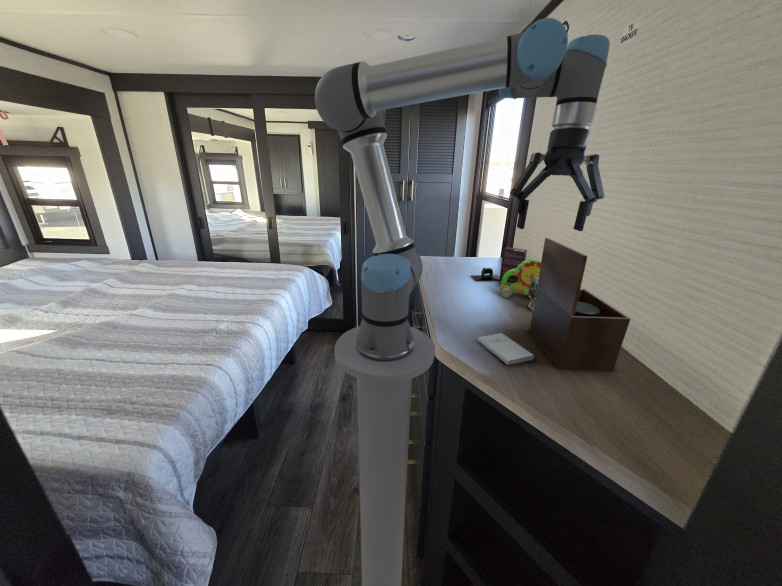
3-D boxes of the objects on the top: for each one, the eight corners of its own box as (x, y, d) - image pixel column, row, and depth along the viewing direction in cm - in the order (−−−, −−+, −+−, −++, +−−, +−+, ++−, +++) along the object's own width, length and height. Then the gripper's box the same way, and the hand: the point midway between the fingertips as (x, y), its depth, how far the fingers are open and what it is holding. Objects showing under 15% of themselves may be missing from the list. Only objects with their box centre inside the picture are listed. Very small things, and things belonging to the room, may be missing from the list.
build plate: (496, 276, 145) (498, 266, 143) (503, 281, 138) (504, 271, 136) (470, 276, 144) (471, 266, 142) (475, 281, 137) (477, 271, 135)
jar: (588, 359, 80) (600, 317, 75) (553, 349, 84) (563, 309, 79) (588, 344, 87) (600, 304, 82) (556, 336, 91) (565, 298, 86)
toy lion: (500, 298, 119) (507, 259, 114) (498, 292, 124) (504, 255, 119) (544, 301, 117) (553, 262, 111) (540, 296, 122) (548, 258, 116)
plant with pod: (518, 306, 112) (528, 252, 105) (546, 304, 114) (558, 251, 107) (531, 315, 105) (542, 258, 97) (561, 314, 107) (575, 257, 99)
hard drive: (507, 366, 77) (477, 341, 88) (533, 360, 80) (501, 337, 91) (508, 360, 77) (478, 336, 88) (534, 354, 79) (502, 332, 90)
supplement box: (521, 286, 132) (527, 249, 126) (519, 289, 128) (525, 251, 123) (500, 282, 136) (505, 246, 131) (497, 285, 132) (503, 248, 127)
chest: (573, 332, 94) (584, 289, 89) (613, 370, 76) (630, 318, 71) (529, 331, 95) (538, 287, 89) (559, 368, 77) (572, 317, 72)
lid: (548, 237, 84) (545, 237, 84) (587, 255, 66) (583, 255, 66) (539, 286, 89) (537, 286, 89) (574, 315, 71) (571, 315, 71)
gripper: (618, 132, 69) (593, 228, 77) (506, 129, 70) (492, 224, 78) (642, 128, 62) (612, 233, 70) (517, 124, 63) (500, 230, 71)
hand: (549, 229), depth 74 cm, fingers open, 13 cm apart
